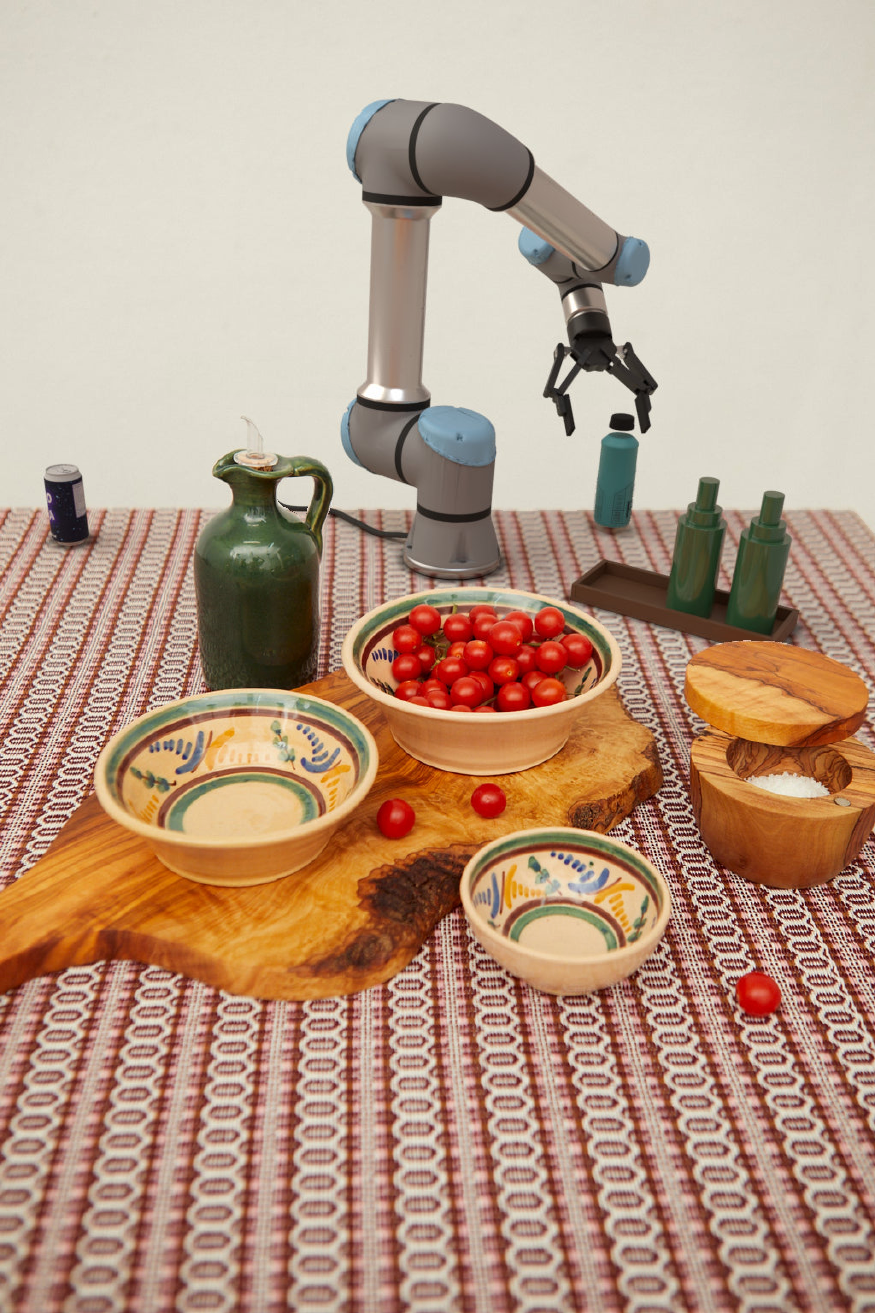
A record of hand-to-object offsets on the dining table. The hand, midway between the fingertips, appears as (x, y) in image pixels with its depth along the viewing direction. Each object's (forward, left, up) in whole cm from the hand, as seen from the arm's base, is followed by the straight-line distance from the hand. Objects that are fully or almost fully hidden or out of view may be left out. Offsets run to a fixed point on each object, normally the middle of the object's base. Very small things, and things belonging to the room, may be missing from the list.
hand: (608, 431), depth 186 cm
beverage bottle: (+4, -4, -16) cm, 17 cm away
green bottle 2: (+36, -28, -15) cm, 48 cm away
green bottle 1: (+27, -28, -15) cm, 42 cm away
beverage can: (-64, -62, -16) cm, 90 cm away
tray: (+26, -28, -16) cm, 41 cm away
